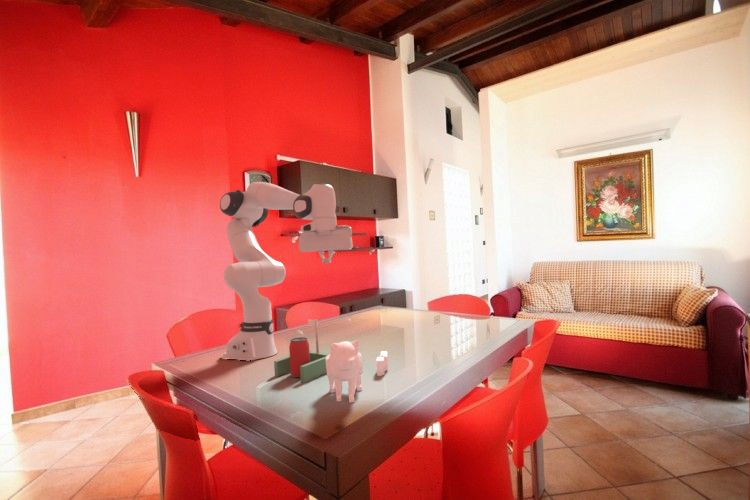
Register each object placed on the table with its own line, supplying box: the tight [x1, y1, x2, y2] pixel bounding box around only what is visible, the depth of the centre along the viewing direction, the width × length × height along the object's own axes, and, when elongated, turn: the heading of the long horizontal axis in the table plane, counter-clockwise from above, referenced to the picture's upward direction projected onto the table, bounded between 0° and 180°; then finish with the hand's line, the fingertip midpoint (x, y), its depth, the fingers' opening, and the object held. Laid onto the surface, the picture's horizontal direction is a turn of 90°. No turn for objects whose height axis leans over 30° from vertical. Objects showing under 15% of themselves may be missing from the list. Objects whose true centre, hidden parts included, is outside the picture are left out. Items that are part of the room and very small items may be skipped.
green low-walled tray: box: [273, 319, 330, 383], centre depth 123 cm, size 14×14×17 cm
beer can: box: [289, 336, 310, 378], centre depth 121 cm, size 7×7×12 cm
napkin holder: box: [375, 350, 389, 377], centre depth 121 cm, size 15×11×6 cm
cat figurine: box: [325, 340, 365, 403], centre depth 102 cm, size 25×10×17 cm, turn 9°
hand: (326, 263), depth 134 cm, fingers closed
